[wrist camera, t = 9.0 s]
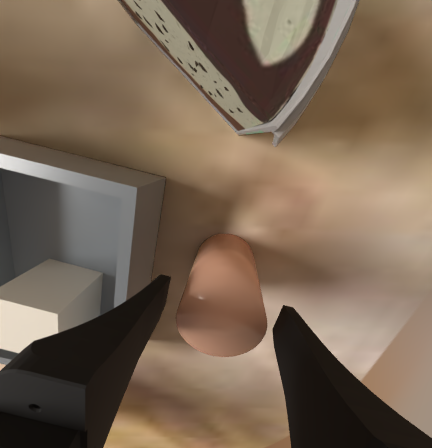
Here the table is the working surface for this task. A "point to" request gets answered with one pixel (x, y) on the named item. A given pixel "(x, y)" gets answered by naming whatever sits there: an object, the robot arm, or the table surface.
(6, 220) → the slate tote
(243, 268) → the terracotta cylinder
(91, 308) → the cream cube
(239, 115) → the food container
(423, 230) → the table surface
